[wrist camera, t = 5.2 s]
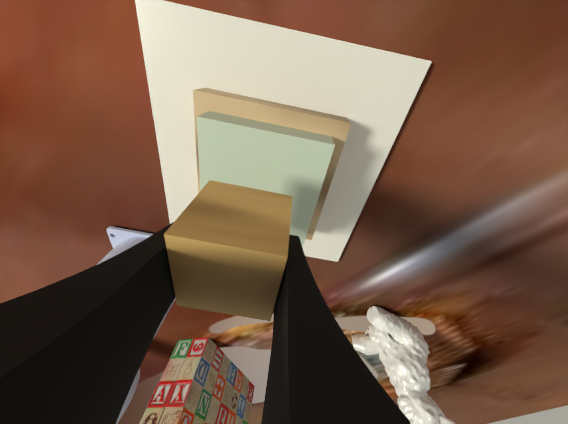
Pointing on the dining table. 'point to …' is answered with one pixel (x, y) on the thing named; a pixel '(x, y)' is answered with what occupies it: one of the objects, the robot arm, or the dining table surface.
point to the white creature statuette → (402, 363)
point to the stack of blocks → (200, 388)
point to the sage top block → (265, 160)
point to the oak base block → (280, 116)
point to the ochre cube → (230, 250)
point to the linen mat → (275, 98)
